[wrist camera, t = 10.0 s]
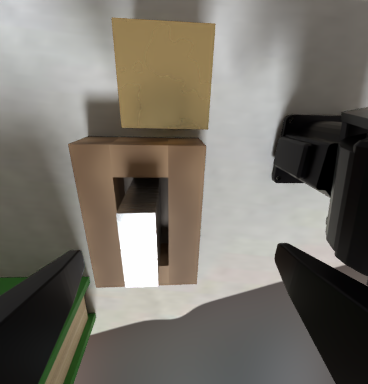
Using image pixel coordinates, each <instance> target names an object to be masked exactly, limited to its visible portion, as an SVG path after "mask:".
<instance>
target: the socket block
mask: <svg viewBox="0 0 368 384" xmlns="http://www.w3.org/2000/svg"><path fill="white" fill-rule="evenodd" d="M68 147H69V152H70V157H71V162H72V167H73V172H74V177H75V182H76V187H77V192H78V198H79V203H80V208H81V213H82V218H83V223H84V228H85V233H86V238H87V243H88V249H89V254H90V259H91V264H92V269H93V274H94V279H95V284H96V288H100V287H125V280H124V272H123V264H122V257H121V249H120V241H119V233H118V225H117V218H116V213H117V210H118V208H119V206H120V204H121V202H122V200H123V198H124V196H125V194H126V192H127V190H128V188H129V186H130V184H131V182H132V180H133V178H160V210H161V246H160V263H159V280H158V285H181V284H197V272H198V258H199V243H200V228H201V214H202V199H203V185H204V170H205V156H206V145H205V144H204V143H203V142H202V141H201V140H200V139H199V138H162V137H102V136H88V137H85V138H83V139H80V140H77V141H75V142H72V143H70V144H68Z"/></svg>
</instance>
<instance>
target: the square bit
mask: <svg viewBox="0 0 368 384" xmlns="http://www.w3.org/2000/svg"><path fill="white" fill-rule="evenodd" d="M112 29H113V40H114V51H115V62H116V73H117V84H118V95H119V106H120V117H121V128H162V129H208V122H209V108H210V94H211V79H212V65H213V51H214V36H215V24H211V23H194V22H177V21H161V20H144V19H127V18H112Z"/></svg>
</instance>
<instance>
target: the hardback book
mask: <svg viewBox="0 0 368 384" xmlns="http://www.w3.org/2000/svg"><path fill="white" fill-rule="evenodd" d="M27 278H28V277H10V278H0V295H2V294H3V293H5V292H7V291H8V290H10V289H11V288H13V287H14V286H16V285H17V284H19V283H20V282H22V281H24V280H25V279H27ZM89 283H90V280H89V277H82V278H81V281H80V284H79V288H78V291H77V294H76V297H75V300H74V303H73V305H72V308H71V310H70V312H69V315H68V317H67V319H66V322H65V324H64V326H63V328H62V331H61V333H60V335H59V338H58V340H57V342H56V344H55V347H54V349H53V351H52V354H51V356H50V358H49V360H48V363H47V365H46V367H45V370H44V372H43V374H42V377H41V379H40V381H39V383H38V384H74V381H75V377H76V375H77V372H78V369H79V366H80V363H81V360H82V357H83V354H84V351H85V348H86V345H87V343H88V340H89V337H90V334H91V331H92V328H93V325H94V322H95V319H96V315H95V313H87V310H86V304H85V299H84V295H85V292H86V290H87V288H88V286H89Z"/></svg>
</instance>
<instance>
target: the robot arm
mask: <svg viewBox="0 0 368 384" xmlns="http://www.w3.org/2000/svg"><path fill="white" fill-rule="evenodd" d="M290 118H291V119H292V121H291V123H289V119H290ZM278 176H279V178H278V179H276V178H277V177H278ZM272 180H273V181H274V182H276V183H305V184H307V185H309V186H311V187H312V188H314V189H316V190H318V191H319V192H321V193H323V194H325V195H326V196H328V197H330V205H329V212H328V217H327V218H326V225H327V226H326V240H327V241H328V243H329V244H330V246H331V247H332V249H333V250H334V251H335V256H336V257H337V258H338V259H339V260H341V261H342V262H343V263H344V264H346V265H347V266H349V267H351V268H352V269H354V270H356V271H358V272H359V273H361V274H363V275H366V276H368V107H366V108H361V109H355V110H350V111H344V112H342V113H341V116H323V115H288V116H286V117H285V119H284V122H283V127H282V132H281V137H280V138H279V139H278V144H277V149H276V154H275V159H274V170H273V175H272ZM275 263H276V265H277V268H278V270H279V273H280V275H281V278H282V280H283V283H284V285H285V287H286V290H287V292H288V294H289V296H290V298H291V300H292V302H293V304H294V306H295V308H296V309H297V311H298V313H299V315H300V317H301V319H302V321H303V323H304V325H305V327H306V329H307V330H308V332H309V334H310V336H311V338H312V340H313V342H314V344H315V346H316V347H317V349H318V351H319V353H320V355H321V357H322V359H323V361H324V362H325V364H326V366H327V368H328V370H329V372H330V374H331V376H332V378H333V380H334V381H335V383H336V384H368V286H366V285H364V284H362V283H360V282H358V281H357V280H355V279H353V278H351V277H349V276H347V275H346V274H344V273H342V272H340V271H338V270H336V269H334V268H333V267H331V266H329V265H327V264H325V263H323V262H322V261H320V260H318V259H316V258H314V257H312V256H311V255H309V254H307V253H305V252H303V251H301V250H300V249H298V248H296V247H294V246H292V245H290V244H288V243H279V244H278V245H277V249H276V253H275ZM84 268H85V264H84V259H83V255H82V252H81V250H70V251H68V252H67V253H65V254H64V255H62V256H61V257H59V258H57V259H56V260H54V261H53V262H51V263H50V264H48V265H47V266H45V267H44V268H42V269H41V270H39V271H37V272H36V273H34V274H33V275H31V276H30V277H28V278H27V279H25V280H24V281H22V282H20V283H19V284H17V285H16V286H14V287H13V288H11V289H10V290H8V291H7V292H5V293H3V294H2V295H0V384H38V383H39V381H40V379H41V377H42V374H43V372H44V370H45V367H46V365H47V363H48V360H49V358H50V356H51V354H52V351H53V349H54V347H55V344H56V342H57V340H58V338H59V335H60V333H61V331H62V328H63V326H64V324H65V322H66V319H67V317H68V315H69V312H70V310H71V308H72V305H73V303H74V300H75V297H76V294H77V291H78V288H79V284H80V281H81V278H82V275H83V272H84ZM366 284H367V285H368V278H367V282H366Z"/></svg>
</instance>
